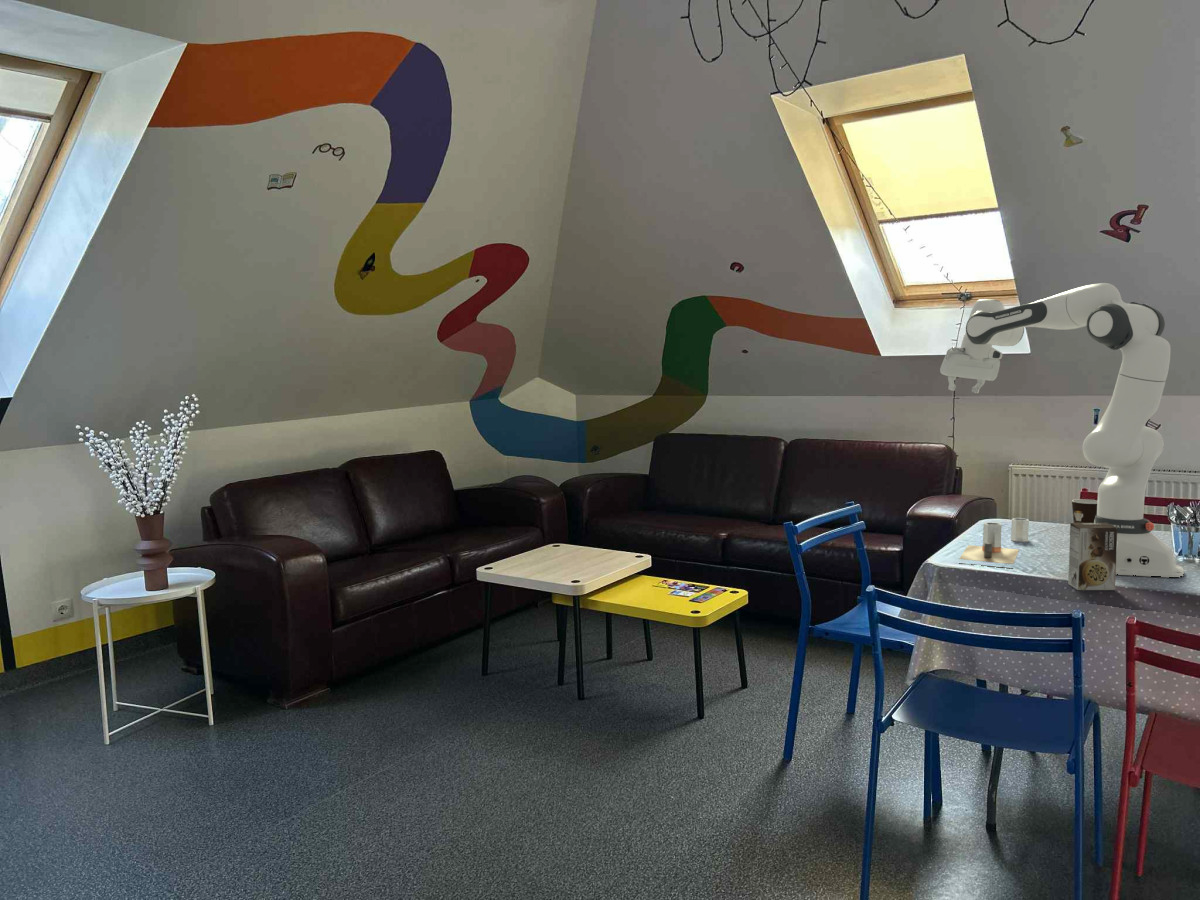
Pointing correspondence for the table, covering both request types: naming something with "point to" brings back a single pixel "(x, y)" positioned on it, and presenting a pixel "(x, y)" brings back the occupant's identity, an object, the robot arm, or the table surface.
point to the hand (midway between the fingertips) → (963, 391)
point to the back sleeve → (992, 535)
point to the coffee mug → (1084, 510)
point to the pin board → (995, 556)
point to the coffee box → (1092, 556)
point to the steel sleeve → (1020, 530)
